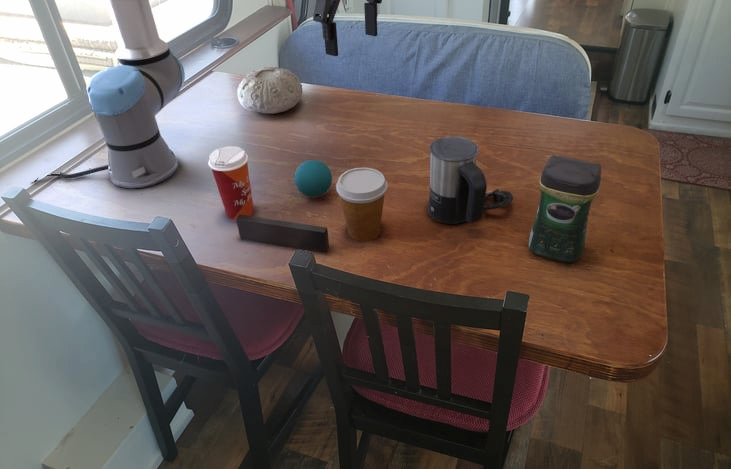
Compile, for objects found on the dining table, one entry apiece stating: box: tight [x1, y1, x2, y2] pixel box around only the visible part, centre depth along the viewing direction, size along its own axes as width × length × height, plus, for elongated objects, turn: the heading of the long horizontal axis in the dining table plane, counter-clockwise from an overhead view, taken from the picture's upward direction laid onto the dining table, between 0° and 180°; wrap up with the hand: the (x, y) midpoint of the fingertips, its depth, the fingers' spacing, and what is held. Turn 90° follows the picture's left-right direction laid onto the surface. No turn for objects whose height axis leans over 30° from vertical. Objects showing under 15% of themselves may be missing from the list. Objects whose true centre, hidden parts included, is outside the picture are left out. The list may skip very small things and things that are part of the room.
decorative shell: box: [237, 66, 303, 115], centre depth 149 cm, size 18×18×10 cm
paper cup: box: [207, 145, 255, 222], centre depth 109 cm, size 8×8×14 cm
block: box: [235, 214, 330, 254], centre depth 103 cm, size 18×2×5 cm, turn 74°
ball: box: [293, 159, 333, 198], centre depth 115 cm, size 8×8×8 cm
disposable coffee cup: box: [335, 167, 388, 242], centre depth 103 cm, size 10×10×12 cm
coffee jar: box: [528, 154, 602, 263], centre depth 95 cm, size 10×8×19 cm
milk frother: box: [427, 136, 514, 225], centre depth 106 cm, size 14×16×15 cm
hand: (352, 44), depth 114 cm, fingers open, 13 cm apart
